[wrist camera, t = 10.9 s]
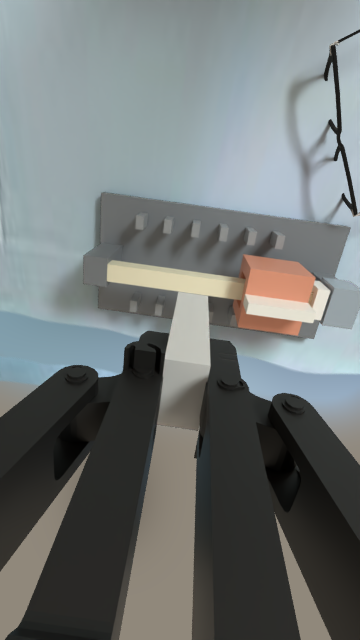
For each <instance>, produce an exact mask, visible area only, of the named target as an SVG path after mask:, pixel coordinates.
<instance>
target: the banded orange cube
mask: <svg viewBox="0 0 360 640" xmlns="http://www.w3.org/2000/svg"><path fill="white" fill-rule="evenodd" d="M239 278H243V279H246V280H245V285H244V290H243V294H242V299H241V300H235V299H234V302H233V308H234V313H235V317H236V321H237V325H238V327H240V328H247V329H254V330H261V331H268V332H275V333H282V334H289V335H296V336H298V334H299V331H300V327H301V324H302V322H307V323H313V322H314V319H315V316H316V312H315V311H314V310H313V308H312V307H311V306H310V305H309V304H308V301H309V298H310V295H311V292H312V288H313V285H314V282H315V279H316V277H314V276H313V275H312V274H311V273H310V272H309V271H308V270H307V269H305V268H304V267H303V266H302V265H301V264H300V263H299V262H294V261H287V260H280V259H273V258H266V257H259V256H252V255H245V254H243V259H242V263H241V268H240V273H239Z"/></svg>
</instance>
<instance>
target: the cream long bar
mask: <svg viewBox="0 0 360 640" xmlns="http://www.w3.org/2000/svg"><path fill="white" fill-rule="evenodd" d="M245 280H246V279H243V278H236V277H228V276H221V275H214V274H207V273H200V272H193V271H186V270H179V269H172V268H165V267H158V266H151V265H144V264H136V263H129V262H122V261H115V260H111V261H110V262H109V263H108V264H107V281H108V282H115V283H122V284H129V285H136V286H143V287H150V288H158V289H165V290H172V291H179V292H186V293H193V294H200V295H207V296H214V297H221V298H228V299H235V300H241V299H242V294H243V290H244V285H245ZM308 304H309V305H310V306H311V307H312V308H313V310H314V311H315V312H316V316H315V319H314V320H318V321H319V322H320V323H321V324H322V325H324V326H331V327H338V328H346V329H352V327H353V324H354V322H355V319H356V316H357V314H358V311H359V309H360V288H359V287H358V286H356V285H355V284H353V283H352V282H351V281H345V280H338V279H331V278H324V277H322V280H321V282H320V281H315V282H314V285H313V288H312V292H311V295H310V298H309V301H308Z"/></svg>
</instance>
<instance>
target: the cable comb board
mask: <svg viewBox="0 0 360 640" xmlns="http://www.w3.org/2000/svg"><path fill="white" fill-rule="evenodd" d="M349 231H350V227H347V226H341V225H334V224H327V223H319V222H312V221H305V220H298V219H291V218H284V217H277V216H270V215H262V214H255V213H248V212H241V211H234V210H227V209H220V208H213V207H205V206H198V205H191V204H184V203H177V202H170V201H163V200H156V199H148V198H141V197H134V196H127V195H120V194H113V193H106V192H103V193H101V224H100V245H98V246H97V247H95V248H94V249H92V250H91V251H89V252H88V253H86V254H85V255H84V265H83V284H88V285H95V286H99V295H98V308H100V309H107V310H114V311H121V312H128V313H135V314H142V315H149V316H156V317H163V318H170V319H173V315H174V311H175V306H176V301H177V296H178V292H179V291H172V290H165V289H158V288H150V287H143V286H136V285H129V284H122V283H115V282H108V281H107V264H108V263H109V262H110V261H111V260H115V261H122V262H129V263H136V264H144V265H151V266H158V267H165V268H172V269H179V270H186V271H193V272H200V273H207V274H214V275H221V276H228V277H236V278H239V273H240V268H241V263H242V259H243V254H245V255H252V256H259V257H266V258H273V259H280V260H287V261H294V262H299V263H300V264H301V265H302V266H303V267H304V268H305V269H307V270H308V271H309V272H310V273H311V274H312V275H313V276H314V277H316V279H315V281H320V282H321V280H322V277H324V278H331V279H337V278H336V277H334V276H335V273H336V270H337V267H338V264H339V261H340V258H341V255H342V252H343V249H344V246H345V243H346V240H347V237H348V234H349ZM183 293H186V292H183ZM190 294H193V293H190ZM197 295H200V294H197ZM205 296H207V295H205ZM233 302H234V299H228V298H221V297H214V296H208V310H209V324H212V325H219V326H226V327H233V328H240V327H238V325H237V321H236V317H235V313H234V308H233ZM318 325H319V321H318V320H314V322H313V323H307V322H302V324H301V327H300V331H299V334H298V336H297V337H304V338H311V339H314V337H315V334H316V331H317V328H318ZM240 329H247V328H240ZM248 330H254V329H248ZM255 331H261V330H255ZM262 332H268V331H262ZM269 333H275V332H269ZM276 334H282V333H276ZM283 335H289V334H283ZM290 336H296V335H290Z"/></svg>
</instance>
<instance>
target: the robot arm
mask: <svg viewBox="0 0 360 640" xmlns="http://www.w3.org/2000/svg"><path fill="white" fill-rule="evenodd" d="M199 423H200V430H199V435H198V440H197V445H196V451H195V455H194V458H197V467H196V505H195V543H194V580H193V582H194V583H193V619H192V640H301V639H300V634H299V630H298V625H297V621H296V615H295V610H294V605H293V600H292V596H291V591H290V586H289V581H288V576H287V571H286V566H285V562H284V557H283V552H282V547H281V542H280V538H279V533H278V528H277V523H276V518H275V514H276V517H277V519H278V521H279V523H280V526H281V528H282V530H283V532H284V534H285V537H286V539H287V541H288V543H289V546H290V548H291V550H292V552H293V554H294V557H295V559H296V561H297V563H298V566H299V568H300V570H301V572H302V575H303V577H304V579H305V581H306V583H307V586H308V588H309V590H310V592H311V595H312V597H313V599H314V601H315V603H316V606H317V608H318V610H319V612H320V614H321V617H322V619H323V621H324V623H325V626H326V628H327V630H328V632H329V635H330V637H331V639H332V640H360V465H359V464H358V463H357V461H356V460H355V459H354V457H353V456H352V455H351V454H350V452H349V451H348V450H347V449H346V447H345V446H344V445H343V444H342V443H341V441H340V440H339V439H338V437H337V436H336V435H335V434H334V432H333V431H332V430H331V429H330V427H329V426H328V425H327V424H326V422H325V421H324V420H323V419H322V417H321V416H320V415H319V414H318V412H317V411H316V410H315V409H314V407H313V406H312V405H311V404H310V403H308V402H307V401H306V400H304V399H303V398H301V397H299V396H297V395H293V394H287V393H281V394H277V395H275V396H274V397H273V399H272V402H271V401H268V400H265V399H263V398H260V397H258V396H255V395H254V394H252V393H250V392H249V387H248V385H247V384H246V382H245V381H244V380H243V379H241V375H240V370H239V364H238V359H237V353H236V348H235V347H234V346H233V345H232V343H231V342H230V341H223V340H216V339H210V337H209V310H208V296H205V295H197V294H190V293H183V292H178V296H177V301H176V306H175V311H174V315H173V320H172V325H171V330H170V334H168V333H161V332H154V331H147V332H145V333H144V334H142V335H141V337H140V339H139V341H137V342H132V343H130V344H128V345H127V346H126V347H125V351H124V366H123V372H122V373H121V374H119V375H116V376H112V377H100V378H98V373H97V372H96V371H95V369H93V368H91V367H89V366H83V365H72V366H68V367H65V368H63V369H61V370H59V371H58V372H56V373H55V374H54V375H53V376H51V377H50V378H49V379H48V380H46V381H45V382H44V383H43V384H41V385H40V386H39V387H38V388H36V389H35V390H34V391H33V392H32V393H30V394H29V395H28V396H27V397H25V398H24V399H23V400H22V401H20V402H19V403H18V404H17V405H15V406H14V407H13V408H12V409H10V410H9V411H8V412H7V413H5V414H4V415H3V416H2V417H0V571H1V570H2V568H3V567H4V566H5V564H6V563H7V562H8V560H9V559H10V558H11V556H12V555H13V554H14V552H15V551H16V550H17V548H18V547H19V546H20V544H21V543H22V542H23V540H24V539H25V538H26V536H27V535H28V534H29V532H30V531H31V530H32V528H33V527H34V525H35V524H36V523H37V522H38V520H39V519H40V518H41V516H42V515H43V514H44V512H45V511H46V510H47V508H48V507H49V506H50V504H51V503H52V502H53V500H54V499H55V498H56V496H57V495H58V494H59V492H60V491H61V490H62V488H63V487H64V486H65V484H66V483H67V482H68V480H69V479H70V478H71V476H72V475H73V474H74V472H75V471H76V470H77V468H78V467H79V466H80V464H81V463H82V462H83V460H84V459H85V458H86V456H87V455H88V454H89V452H90V454H89V456H88V459H87V461H86V464H85V466H84V469H83V471H82V474H81V476H80V478H79V481H78V483H77V486H76V488H75V491H74V493H73V496H72V498H71V501H70V503H69V506H68V508H67V511H66V514H65V516H64V518H63V521H62V523H61V526H60V528H59V531H58V533H57V536H56V538H55V541H54V543H53V546H52V548H51V551H50V553H49V556H48V558H47V561H46V563H45V566H44V568H43V571H42V573H41V576H40V578H39V580H38V583H37V585H36V588H35V590H34V593H33V595H32V598H31V600H30V603H29V606H28V608H27V610H26V612H25V615H24V617H23V619H22V621H21V623H20V624H19V626H18V627H17V628H16V629H15V630H14V631H12V632H11V633H10V634H9V635H8V636H7V638H6V639H5V640H119V635H120V630H121V624H122V619H123V613H124V608H125V602H126V597H127V591H128V585H129V580H130V574H131V568H132V563H133V557H134V552H135V546H136V541H137V535H138V530H139V524H140V518H141V513H142V507H143V502H144V495H145V491H146V485H147V479H148V474H149V468H150V463H151V456H152V451H153V445H154V439H155V434H156V426H157V425H161V426H169V427H175V428H182V429H189V430H196V431H198V428H199ZM274 512H275V513H274Z"/></svg>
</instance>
